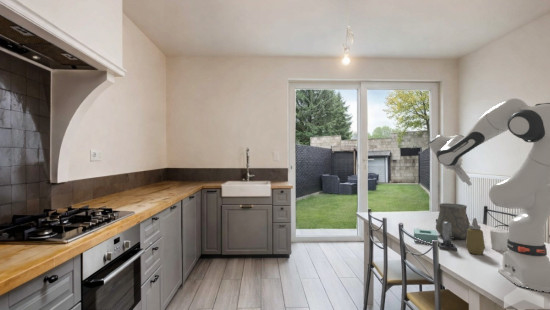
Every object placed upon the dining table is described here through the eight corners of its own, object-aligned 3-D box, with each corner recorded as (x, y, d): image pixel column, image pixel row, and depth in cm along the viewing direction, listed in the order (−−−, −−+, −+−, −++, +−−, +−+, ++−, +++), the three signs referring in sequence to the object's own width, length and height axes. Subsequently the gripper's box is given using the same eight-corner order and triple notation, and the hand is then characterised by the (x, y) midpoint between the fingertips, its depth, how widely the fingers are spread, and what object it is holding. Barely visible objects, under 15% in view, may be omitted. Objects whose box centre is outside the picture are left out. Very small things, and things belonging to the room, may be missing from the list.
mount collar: (457, 251, 148) (457, 248, 148) (439, 249, 151) (439, 246, 151) (454, 246, 155) (454, 243, 155) (438, 244, 159) (438, 242, 159)
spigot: (452, 249, 151) (451, 223, 151) (443, 248, 152) (443, 222, 152) (451, 247, 154) (450, 221, 154) (442, 246, 156) (442, 221, 156)
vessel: (427, 236, 175) (427, 204, 175) (439, 230, 190) (439, 201, 190) (468, 244, 159) (468, 209, 159) (478, 237, 174) (477, 204, 174)
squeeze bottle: (468, 254, 142) (468, 219, 142) (463, 249, 150) (463, 216, 150) (487, 256, 139) (487, 220, 140) (481, 251, 147) (481, 217, 147)
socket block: (437, 244, 159) (437, 235, 160) (414, 241, 165) (414, 233, 165) (435, 238, 170) (435, 230, 170) (413, 236, 175) (413, 228, 176)
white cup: (512, 252, 145) (512, 233, 145) (495, 251, 147) (495, 232, 147) (503, 247, 153) (503, 229, 153) (487, 246, 155) (487, 228, 155)
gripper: (462, 164, 141) (479, 185, 141) (453, 153, 159) (468, 172, 159) (450, 170, 143) (467, 192, 144) (442, 159, 162) (457, 177, 162)
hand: (467, 181), depth 151 cm, fingers open, 8 cm apart
